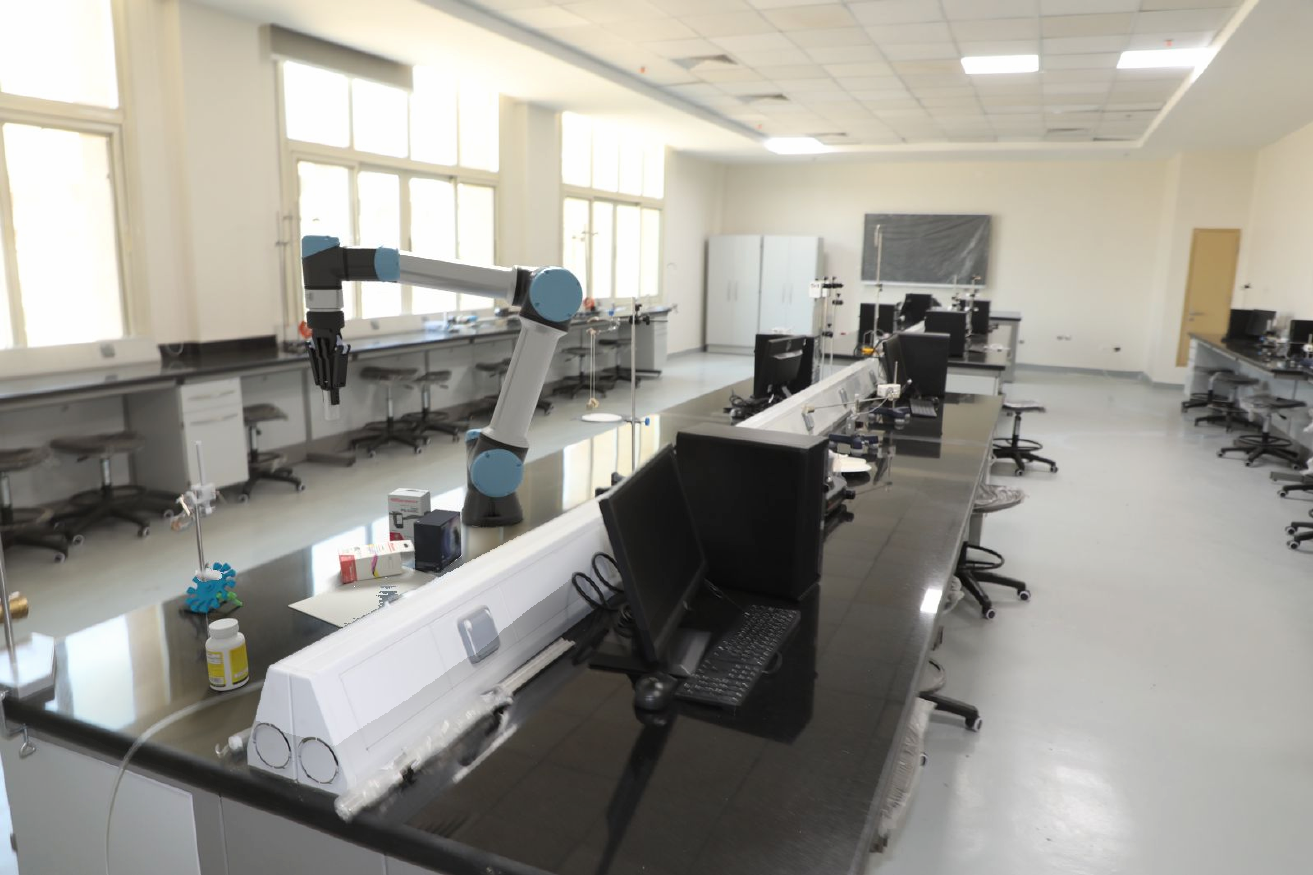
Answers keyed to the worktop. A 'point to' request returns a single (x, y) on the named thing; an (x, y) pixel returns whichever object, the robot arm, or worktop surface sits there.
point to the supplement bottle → (226, 655)
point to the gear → (213, 590)
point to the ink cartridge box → (372, 560)
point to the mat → (359, 597)
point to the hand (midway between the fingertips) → (332, 419)
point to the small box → (437, 540)
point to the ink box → (406, 512)
